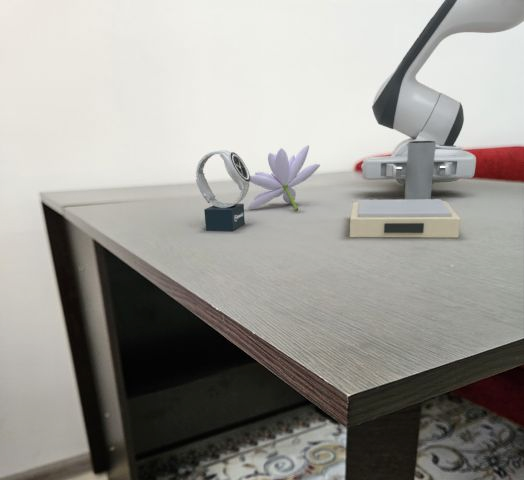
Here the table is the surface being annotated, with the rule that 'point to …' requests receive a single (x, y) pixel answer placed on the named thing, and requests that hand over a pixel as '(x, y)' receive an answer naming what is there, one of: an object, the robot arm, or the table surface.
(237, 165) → the watch
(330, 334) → the table surface
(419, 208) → the scale
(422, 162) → the grey tall cylinder
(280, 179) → the water lily
